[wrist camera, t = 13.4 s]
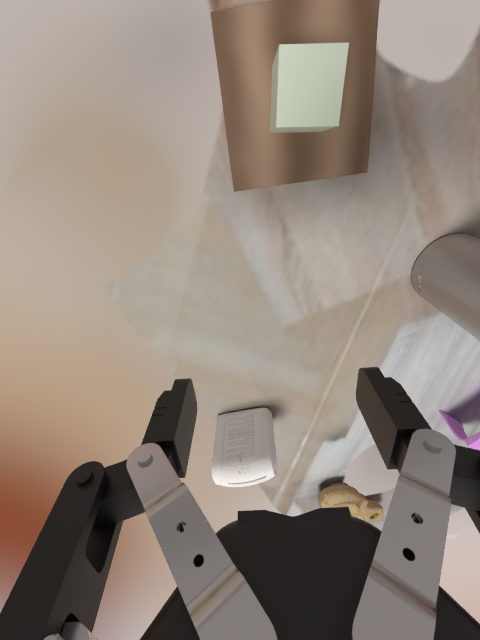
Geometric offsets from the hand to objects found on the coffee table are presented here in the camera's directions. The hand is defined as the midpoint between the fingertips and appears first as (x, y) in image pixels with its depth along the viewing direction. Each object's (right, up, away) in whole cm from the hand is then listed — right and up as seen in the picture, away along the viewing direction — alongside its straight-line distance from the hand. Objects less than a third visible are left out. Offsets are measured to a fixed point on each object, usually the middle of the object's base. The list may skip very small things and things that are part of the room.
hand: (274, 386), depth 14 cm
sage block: (+4, +24, +13) cm, 28 cm away
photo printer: (-1, -14, +39) cm, 41 cm away
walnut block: (+4, +26, +17) cm, 31 cm away
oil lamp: (+22, -34, +50) cm, 64 cm away
